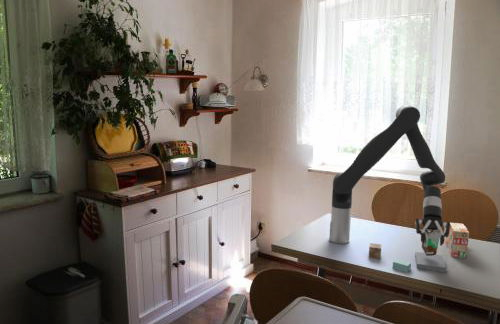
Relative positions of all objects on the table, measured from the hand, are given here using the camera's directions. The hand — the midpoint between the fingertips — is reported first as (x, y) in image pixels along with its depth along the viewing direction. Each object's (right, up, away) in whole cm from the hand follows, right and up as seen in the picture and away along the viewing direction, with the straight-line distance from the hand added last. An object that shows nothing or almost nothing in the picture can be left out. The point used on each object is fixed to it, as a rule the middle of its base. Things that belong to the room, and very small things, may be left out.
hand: (432, 243), depth 173 cm
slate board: (0, -9, +3) cm, 10 cm away
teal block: (-14, -10, -2) cm, 17 cm away
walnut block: (-21, -8, +10) cm, 25 cm away
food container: (+1, -4, +2) cm, 5 cm away
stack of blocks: (+19, -7, +21) cm, 29 cm away
